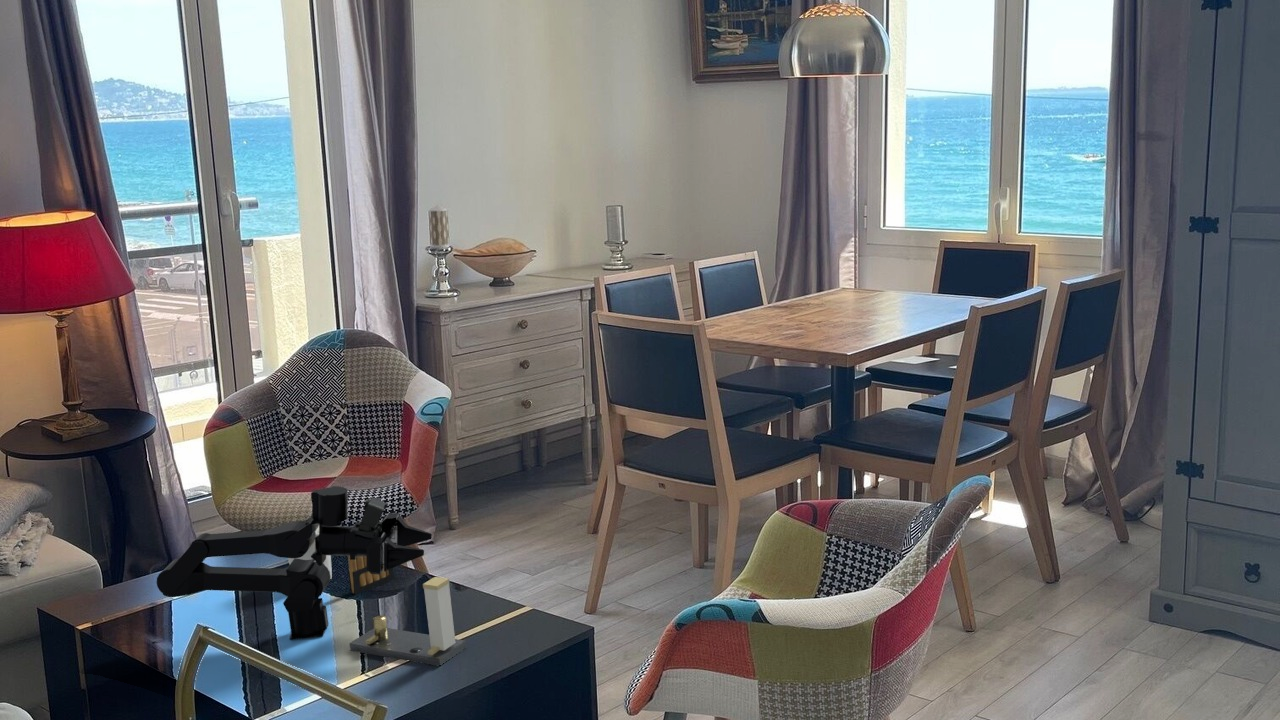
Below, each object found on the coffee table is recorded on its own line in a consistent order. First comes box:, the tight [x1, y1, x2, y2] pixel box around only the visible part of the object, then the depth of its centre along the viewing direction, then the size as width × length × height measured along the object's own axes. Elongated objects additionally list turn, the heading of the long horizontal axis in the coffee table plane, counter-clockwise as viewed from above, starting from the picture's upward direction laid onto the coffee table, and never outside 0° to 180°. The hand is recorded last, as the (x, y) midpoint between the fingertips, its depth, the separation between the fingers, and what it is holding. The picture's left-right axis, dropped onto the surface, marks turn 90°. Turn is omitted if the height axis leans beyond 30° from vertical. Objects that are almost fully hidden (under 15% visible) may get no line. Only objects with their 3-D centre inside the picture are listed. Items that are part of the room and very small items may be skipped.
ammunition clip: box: [347, 556, 396, 595], centre depth 256 cm, size 11×2×12 cm, turn 139°
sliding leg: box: [422, 576, 456, 655], centre depth 218 cm, size 3×6×13 cm, turn 153°
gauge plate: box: [349, 615, 467, 667], centre depth 223 cm, size 21×8×6 cm, turn 63°
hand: (427, 544), depth 232 cm, fingers open, 9 cm apart
